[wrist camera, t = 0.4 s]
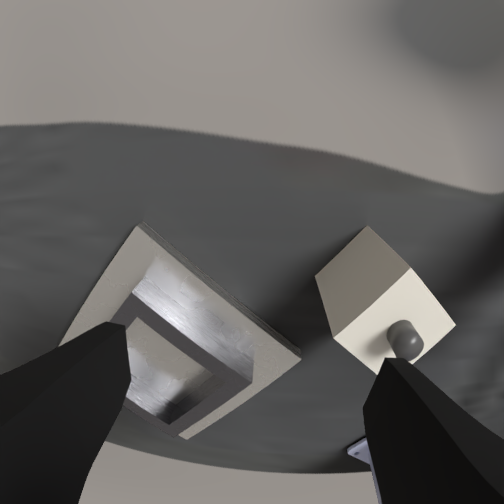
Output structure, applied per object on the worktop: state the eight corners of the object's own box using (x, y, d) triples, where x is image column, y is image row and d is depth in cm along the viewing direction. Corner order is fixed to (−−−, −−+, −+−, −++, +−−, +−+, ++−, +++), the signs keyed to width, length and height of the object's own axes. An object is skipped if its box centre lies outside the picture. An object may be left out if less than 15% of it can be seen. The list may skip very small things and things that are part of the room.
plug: (408, 271, 17) (468, 339, 10) (359, 317, 18) (394, 401, 12) (366, 224, 16) (423, 281, 10) (314, 276, 18) (338, 356, 11)
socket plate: (300, 349, 19) (304, 381, 16) (189, 430, 23) (181, 458, 20) (143, 220, 17) (120, 236, 14) (64, 340, 20) (44, 363, 17)
